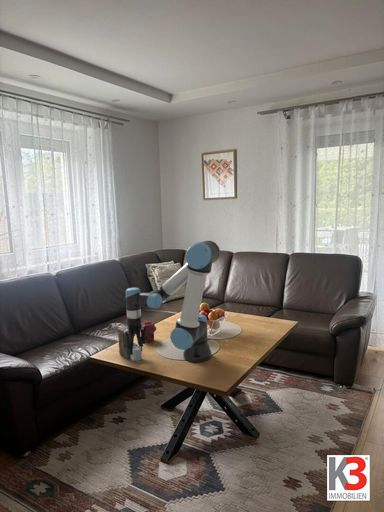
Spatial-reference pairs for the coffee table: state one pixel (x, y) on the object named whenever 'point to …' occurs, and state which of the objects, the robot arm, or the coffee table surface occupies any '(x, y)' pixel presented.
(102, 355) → the coffee table surface
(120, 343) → the post
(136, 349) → the light blue block
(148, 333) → the mechanical component
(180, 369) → the coffee table surface
